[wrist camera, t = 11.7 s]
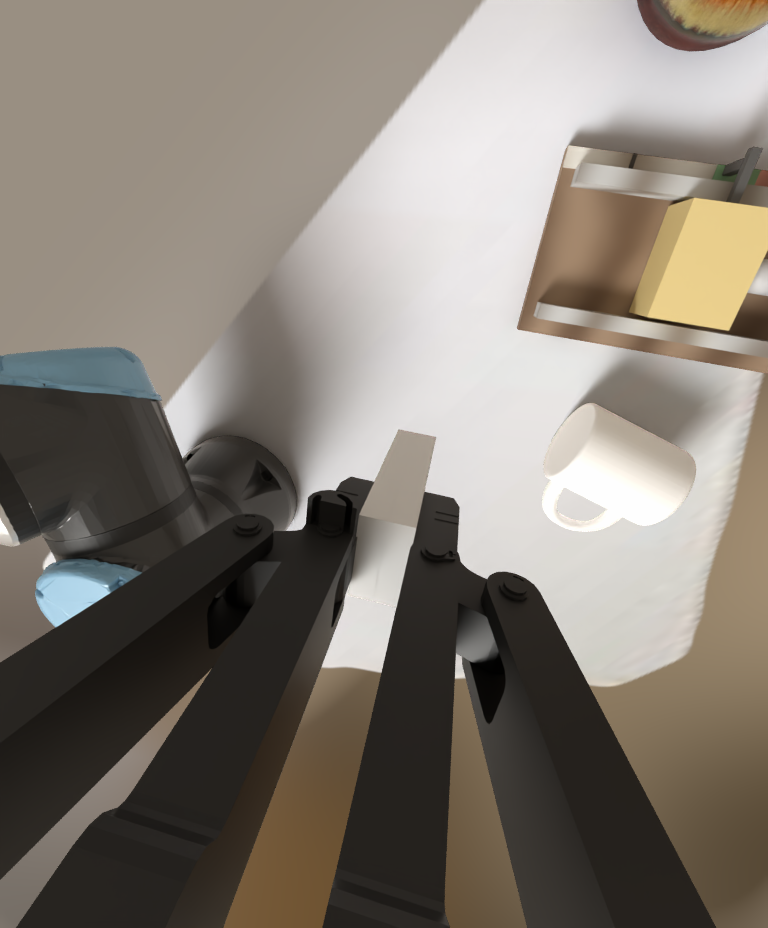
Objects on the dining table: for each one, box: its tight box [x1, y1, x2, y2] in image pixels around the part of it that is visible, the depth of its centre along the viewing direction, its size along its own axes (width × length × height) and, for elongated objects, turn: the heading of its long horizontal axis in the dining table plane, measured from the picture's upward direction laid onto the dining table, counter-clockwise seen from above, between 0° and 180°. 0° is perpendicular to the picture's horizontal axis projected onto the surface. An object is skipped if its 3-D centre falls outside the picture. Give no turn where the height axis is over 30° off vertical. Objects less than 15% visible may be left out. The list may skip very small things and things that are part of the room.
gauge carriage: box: [629, 147, 768, 331], centre depth 32 cm, size 9×11×4 cm
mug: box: [542, 403, 696, 531], centre depth 41 cm, size 12×10×8 cm
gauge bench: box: [517, 145, 768, 373], centre depth 33 cm, size 24×14×7 cm, turn 82°
